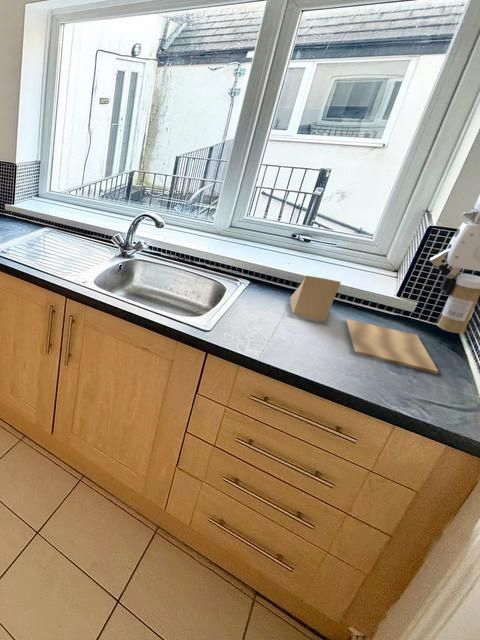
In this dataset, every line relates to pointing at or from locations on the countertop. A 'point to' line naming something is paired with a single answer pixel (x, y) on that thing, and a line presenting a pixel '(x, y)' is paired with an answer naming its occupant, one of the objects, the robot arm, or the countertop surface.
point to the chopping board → (390, 346)
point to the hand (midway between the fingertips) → (462, 295)
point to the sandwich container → (314, 297)
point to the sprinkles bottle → (460, 303)
